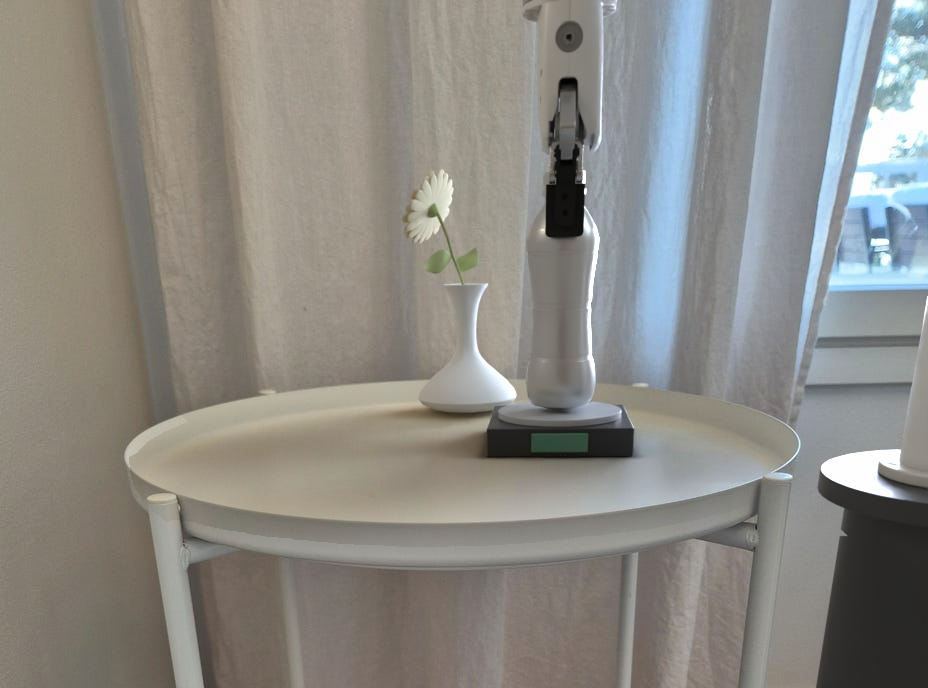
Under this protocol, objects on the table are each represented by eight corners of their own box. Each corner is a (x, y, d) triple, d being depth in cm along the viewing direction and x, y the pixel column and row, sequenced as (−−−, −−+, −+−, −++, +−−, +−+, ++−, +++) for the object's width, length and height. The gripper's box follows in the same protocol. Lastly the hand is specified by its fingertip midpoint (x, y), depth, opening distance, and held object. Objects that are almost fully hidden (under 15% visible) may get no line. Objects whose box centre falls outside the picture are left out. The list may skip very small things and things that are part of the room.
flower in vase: (476, 400, 111) (473, 175, 101) (536, 410, 102) (540, 166, 92) (388, 413, 104) (375, 172, 94) (445, 425, 95) (438, 162, 85)
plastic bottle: (556, 418, 80) (561, 168, 72) (511, 409, 85) (510, 174, 77) (609, 409, 83) (619, 169, 75) (562, 401, 88) (567, 175, 80)
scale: (622, 429, 91) (623, 398, 90) (633, 457, 78) (635, 422, 77) (495, 430, 92) (495, 399, 91) (486, 458, 80) (486, 423, 79)
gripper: (625, -44, 63) (612, 234, 70) (610, 15, 79) (601, 237, 86) (519, -37, 64) (517, 237, 71) (525, 19, 79) (523, 239, 87)
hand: (563, 235), depth 78 cm, fingers closed on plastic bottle, 6 cm apart
